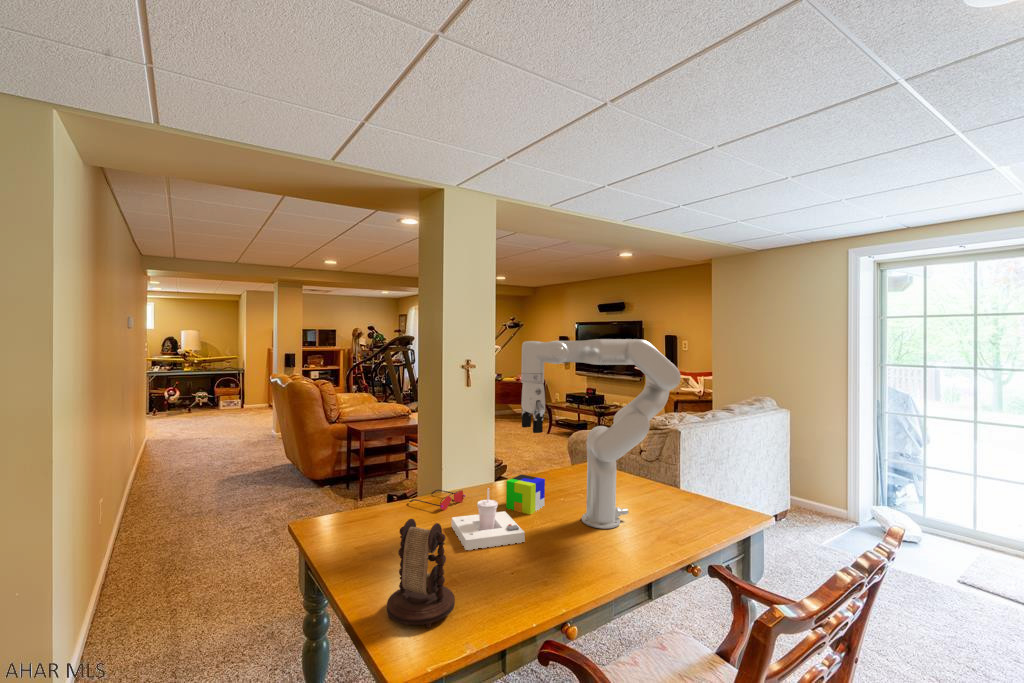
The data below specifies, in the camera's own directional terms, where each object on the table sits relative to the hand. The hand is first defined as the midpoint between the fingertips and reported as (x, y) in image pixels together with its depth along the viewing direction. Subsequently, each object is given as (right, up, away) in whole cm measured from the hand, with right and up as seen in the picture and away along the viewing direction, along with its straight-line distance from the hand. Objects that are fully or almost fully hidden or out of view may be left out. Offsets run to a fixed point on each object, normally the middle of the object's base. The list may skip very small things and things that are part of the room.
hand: (531, 429), depth 159 cm
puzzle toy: (-2, -31, +13) cm, 33 cm away
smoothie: (-14, -30, -11) cm, 35 cm away
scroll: (-27, -31, -53) cm, 67 cm away
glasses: (-34, -30, +16) cm, 49 cm away
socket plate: (-14, -30, -11) cm, 35 cm away
